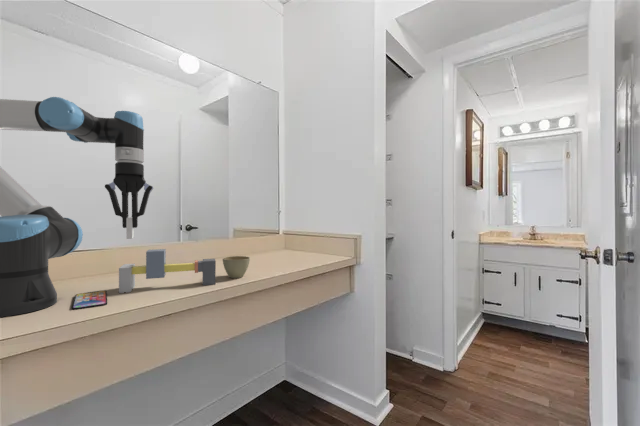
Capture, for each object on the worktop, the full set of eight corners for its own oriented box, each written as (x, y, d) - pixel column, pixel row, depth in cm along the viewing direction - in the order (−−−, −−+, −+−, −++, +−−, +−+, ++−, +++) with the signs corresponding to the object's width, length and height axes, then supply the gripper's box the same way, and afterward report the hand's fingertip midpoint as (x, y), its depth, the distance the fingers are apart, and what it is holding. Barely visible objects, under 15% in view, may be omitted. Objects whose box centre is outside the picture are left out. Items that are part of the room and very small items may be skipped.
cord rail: (118, 293, 90) (118, 266, 90) (124, 287, 96) (124, 262, 96) (215, 285, 100) (215, 261, 100) (214, 280, 107) (214, 258, 107)
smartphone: (71, 308, 74) (75, 294, 87) (71, 312, 74) (75, 297, 87) (107, 303, 79) (106, 290, 91) (107, 306, 79) (106, 293, 91)
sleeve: (146, 278, 93) (146, 251, 93) (148, 275, 98) (148, 249, 98) (164, 277, 95) (164, 251, 95) (165, 274, 100) (165, 249, 100)
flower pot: (242, 280, 107) (242, 260, 107) (217, 278, 109) (217, 259, 109) (254, 274, 117) (254, 256, 117) (230, 273, 119) (230, 255, 119)
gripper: (101, 159, 87) (101, 240, 88) (151, 162, 92) (152, 238, 93) (108, 163, 94) (108, 238, 95) (154, 165, 99) (155, 236, 100)
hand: (130, 238), depth 94 cm, fingers closed
